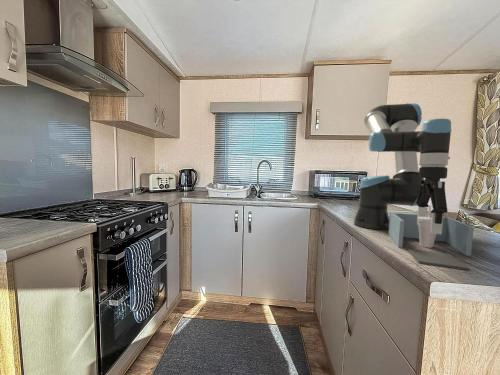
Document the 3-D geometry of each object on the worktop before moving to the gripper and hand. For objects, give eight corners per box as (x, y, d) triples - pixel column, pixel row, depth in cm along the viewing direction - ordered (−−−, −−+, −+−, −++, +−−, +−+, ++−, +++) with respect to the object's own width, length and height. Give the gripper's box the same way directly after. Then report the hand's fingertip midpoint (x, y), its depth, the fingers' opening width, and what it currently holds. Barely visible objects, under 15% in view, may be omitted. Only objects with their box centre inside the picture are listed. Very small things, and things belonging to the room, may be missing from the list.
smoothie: (439, 246, 80) (443, 206, 79) (436, 250, 76) (440, 207, 74) (416, 241, 85) (420, 203, 83) (413, 245, 80) (416, 205, 79)
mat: (407, 250, 75) (407, 248, 75) (449, 255, 71) (450, 253, 71) (418, 263, 65) (418, 261, 65) (468, 270, 61) (468, 267, 61)
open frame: (388, 234, 93) (390, 212, 93) (447, 240, 87) (449, 217, 86) (398, 247, 78) (400, 220, 77) (470, 256, 71) (473, 227, 70)
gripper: (466, 165, 65) (459, 239, 66) (432, 167, 88) (428, 222, 90) (433, 165, 68) (428, 236, 69) (409, 167, 91) (405, 220, 92)
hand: (428, 228), depth 79 cm, fingers open, 13 cm apart
